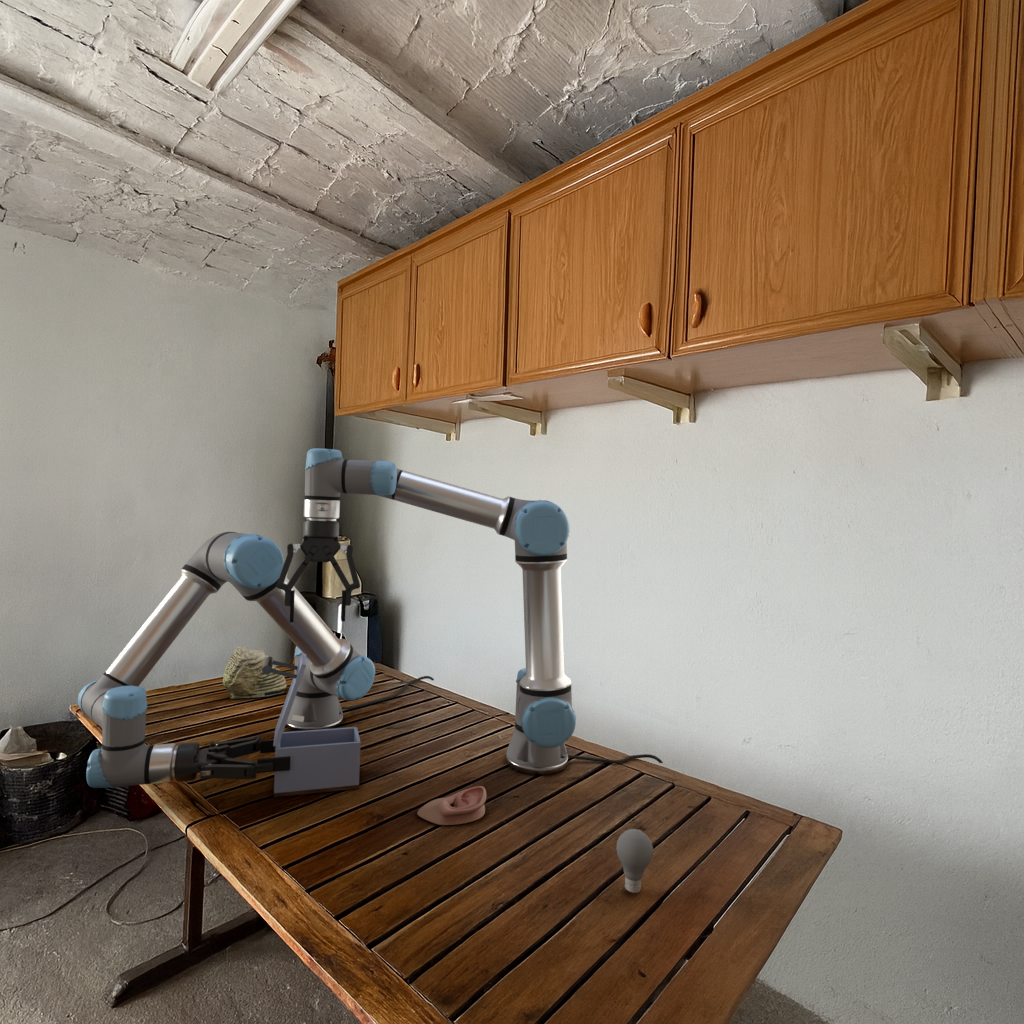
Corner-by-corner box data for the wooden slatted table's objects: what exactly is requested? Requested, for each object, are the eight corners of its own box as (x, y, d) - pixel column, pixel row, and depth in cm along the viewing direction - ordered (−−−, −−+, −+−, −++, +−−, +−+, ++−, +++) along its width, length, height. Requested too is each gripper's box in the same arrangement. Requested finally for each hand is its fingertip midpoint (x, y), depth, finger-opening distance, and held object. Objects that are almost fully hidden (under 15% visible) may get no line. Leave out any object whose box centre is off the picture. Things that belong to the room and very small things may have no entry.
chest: (355, 770, 147) (357, 726, 147) (358, 788, 138) (360, 742, 138) (275, 777, 142) (277, 732, 142) (273, 797, 133) (275, 749, 132)
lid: (306, 653, 143) (269, 644, 141) (306, 665, 134) (267, 655, 131) (279, 730, 142) (242, 722, 139) (277, 747, 133) (237, 738, 130)
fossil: (218, 695, 195) (220, 647, 195) (278, 685, 208) (279, 640, 207) (228, 703, 189) (230, 653, 188) (289, 692, 201) (290, 645, 201)
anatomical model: (412, 801, 125) (431, 776, 136) (411, 820, 125) (430, 795, 136) (477, 810, 122) (491, 784, 134) (476, 830, 122) (490, 803, 134)
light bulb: (610, 879, 108) (613, 822, 108) (644, 879, 109) (647, 822, 109) (619, 902, 102) (622, 840, 102) (655, 901, 103) (658, 840, 103)
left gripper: (185, 758, 142) (291, 750, 149) (164, 805, 121) (288, 793, 128) (186, 725, 142) (292, 719, 149) (165, 766, 120) (290, 756, 127)
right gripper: (265, 518, 131) (261, 625, 132) (375, 522, 139) (371, 623, 139) (267, 517, 139) (263, 618, 139) (372, 520, 146) (368, 616, 146)
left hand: (290, 753), depth 138 cm, fingers closed on chest, 10 cm apart
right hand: (317, 620), depth 139 cm, fingers open, 10 cm apart
